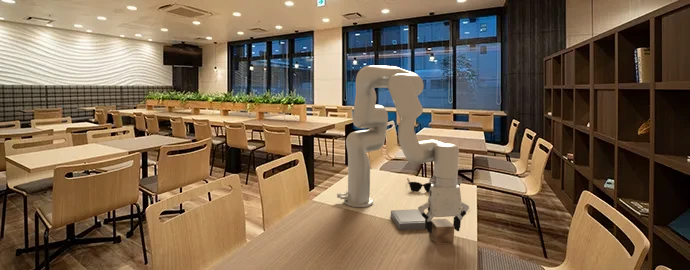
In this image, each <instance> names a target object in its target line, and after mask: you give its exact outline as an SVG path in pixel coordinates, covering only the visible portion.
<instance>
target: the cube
mask: <svg viewBox="0 0 690 270" xmlns="http://www.w3.org/2000/svg"><path fill="white" fill-rule="evenodd" d="M431 221H432V233H429V232H428V236H429V237H430V239H431V238H432V239H433V240H432V239H431V240H432V241H433V242H434V244H435V243H436V245H439V244H438V243H447V244H453V243H454V241H455V239H454V238H455V229H454V227H455V226H454V225H453V223H451V221H450V220H449V219H448V218H436V219H435V218H434V219H433V218H432V220H431ZM452 242H453V243H452Z"/></svg>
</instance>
